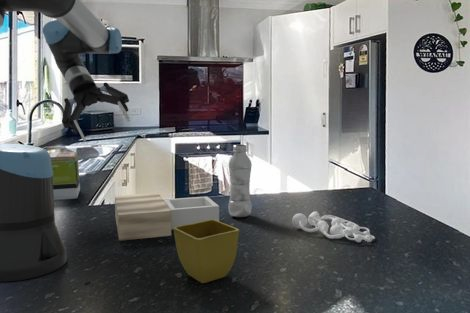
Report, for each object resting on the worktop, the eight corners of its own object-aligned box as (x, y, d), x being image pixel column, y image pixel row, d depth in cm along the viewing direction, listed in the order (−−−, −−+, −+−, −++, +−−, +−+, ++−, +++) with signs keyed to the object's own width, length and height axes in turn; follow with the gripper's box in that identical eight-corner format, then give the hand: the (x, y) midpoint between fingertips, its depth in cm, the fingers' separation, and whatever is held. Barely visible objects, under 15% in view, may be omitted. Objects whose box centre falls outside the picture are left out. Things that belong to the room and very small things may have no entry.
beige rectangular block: (171, 235, 98) (170, 210, 97) (119, 240, 94) (118, 215, 93) (158, 213, 119) (158, 192, 118) (115, 216, 115) (114, 195, 114)
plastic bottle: (224, 218, 113) (223, 145, 111) (235, 212, 119) (235, 143, 117) (245, 220, 110) (244, 146, 108) (255, 215, 116) (255, 144, 114)
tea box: (51, 192, 150) (48, 151, 148) (80, 190, 153) (78, 150, 151) (45, 201, 135) (42, 156, 134) (78, 198, 138) (75, 155, 137)
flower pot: (198, 291, 68) (197, 238, 67) (173, 274, 75) (172, 226, 74) (240, 278, 73) (240, 229, 72) (213, 263, 80) (213, 218, 79)
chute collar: (219, 225, 106) (219, 206, 106) (171, 229, 103) (170, 209, 102) (207, 213, 118) (207, 196, 118) (164, 217, 114) (163, 199, 114)
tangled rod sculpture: (388, 242, 97) (390, 225, 96) (352, 251, 87) (354, 232, 87) (321, 222, 112) (323, 207, 111) (285, 228, 102) (287, 212, 102)
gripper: (121, 77, 136) (148, 119, 125) (46, 107, 129) (68, 154, 118) (115, 60, 130) (143, 102, 119) (36, 90, 122) (59, 138, 112)
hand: (106, 128), depth 119 cm, fingers open, 13 cm apart
